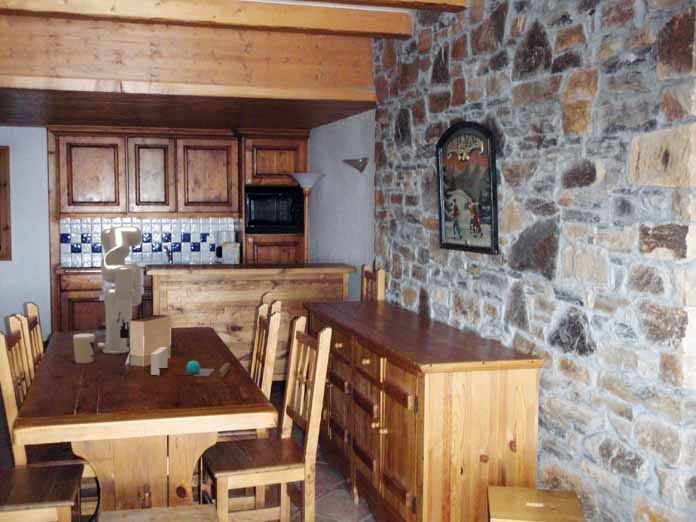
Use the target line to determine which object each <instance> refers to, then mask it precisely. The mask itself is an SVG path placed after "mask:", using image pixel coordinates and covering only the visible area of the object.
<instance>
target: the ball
mask: <svg viewBox="0 0 696 522" xmlns="http://www.w3.org/2000/svg"><path fill="white" fill-rule="evenodd" d="M186 368H187V371H188V372H189V373H191V374H195V373H197V372H198V371H199V369H201V367H200V364H199V362H198V361H196V360H191V361H189V362H188V363H187V364H186Z"/></svg>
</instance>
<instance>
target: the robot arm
mask: <svg viewBox="0 0 696 522" xmlns="http://www.w3.org/2000/svg"><path fill="white" fill-rule="evenodd" d="M142 239H143V236H142V231H141V229H140V228H139V227H138V226H114V227H111V228H105V229H102V231H101V232H100V242H101V245H102V247H103V250H104V253H105V254H104V255H103V257H102V258H101V261H100V265H101V266H100V270H101V271H100V272H101V277H102V280H103V281H104V282H108V283H109V284H114V286H108V287H107V288H106V289H105V290H104V292H103V301H104V307H105V308H104V309H105V335H106V336H105V342H98V343H97V347H98V348H103V349H102V353H104V354H112V355H113V354H114V355H115V354H126V353H128V352H130V351H129V348H130V347H128V346H127V345H128V344H127V339H128V338H129V337H130V336H129V335H130V333H129V332H130V331H129V329H130V322H131V320H132V319H133V307H134V306H139V305H140V304H141V303H142V298H143V297H142V291H143V290H142V271H141V268H140V266H139V265H138V264H137V263H126V258H127V257H129V255H130V252H131V249H130V247H137V246H139V245H140V244H141V242H142Z"/></svg>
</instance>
